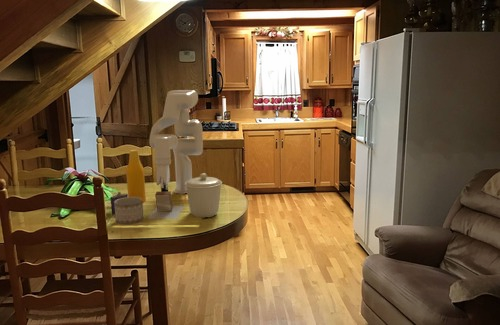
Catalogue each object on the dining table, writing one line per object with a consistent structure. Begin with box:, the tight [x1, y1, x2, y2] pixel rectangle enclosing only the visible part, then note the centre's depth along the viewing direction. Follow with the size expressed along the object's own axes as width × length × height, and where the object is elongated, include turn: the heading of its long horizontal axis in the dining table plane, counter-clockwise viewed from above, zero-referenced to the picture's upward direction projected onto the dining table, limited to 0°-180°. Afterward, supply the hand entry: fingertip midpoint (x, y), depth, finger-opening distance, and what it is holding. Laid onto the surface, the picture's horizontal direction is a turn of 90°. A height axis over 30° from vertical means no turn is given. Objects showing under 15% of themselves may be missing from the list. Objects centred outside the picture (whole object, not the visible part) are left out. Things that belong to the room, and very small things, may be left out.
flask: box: [109, 191, 128, 215], centre depth 203 cm, size 9×3×11 cm, turn 138°
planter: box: [114, 197, 145, 225], centre depth 190 cm, size 13×13×10 cm
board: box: [147, 205, 184, 220], centre depth 201 cm, size 20×14×1 cm
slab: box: [155, 190, 173, 212], centre depth 200 cm, size 3×7×10 cm, turn 90°
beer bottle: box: [125, 149, 147, 203], centre depth 217 cm, size 9×9×29 cm
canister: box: [185, 172, 223, 219], centre depth 197 cm, size 18×18×21 cm
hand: (164, 197), depth 203 cm, fingers closed
